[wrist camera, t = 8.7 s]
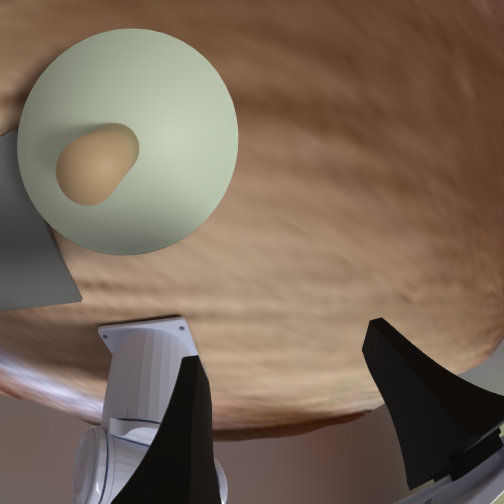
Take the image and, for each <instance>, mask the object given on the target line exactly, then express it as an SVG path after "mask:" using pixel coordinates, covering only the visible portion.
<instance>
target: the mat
mask: <svg viewBox="0 0 504 504" xmlns="http://www.w3.org/2000/svg"><path fill="white" fill-rule="evenodd" d="M18 129H19V127H18V128H16V129H14V130H12V131H10V132H8V133H6V134H4V135H2V136H1V137H0V311H7V310H16V309H25V308H34V307H42V306H50V305H59V304H66V303H74V302H81V301H82V299H83V298H82V296H81V294H80V292H79V291H78V289H77V287H76V285H75V283H74V281H73V279H72V277H71V275H70V273H69V270H68V268H67V266H66V264H65V262H64V260H63V258H62V255H61V253H60V251H59V249H58V246H57V244H56V242H55V239H54V237H53V234H52V232H51V229H50V227H49V224H48V223H47V222H46V221H45V220H44V218H43V217H42V216H41V214H40V213H39V212H38V211H37V209H36V208H35V206H34V204H33V203H32V201H31V199H30V198H29V195H28V193H27V191H26V189H25V186H24V184H23V180H22V177H21V174H20V169H19V163H18V154H17V139H18Z"/></svg>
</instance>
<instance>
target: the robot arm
mask: <svg viewBox="0 0 504 504" xmlns="http://www.w3.org/2000/svg"><path fill="white" fill-rule="evenodd" d="M180 326H183V327H180ZM98 333H99V335H100V337H101V338H102V340H103V341H104V343H105V345H106V346H107V348H108V349H109V351H110V352H111V354H112V360H111V365H110V371H109V376H108V381H107V387H106V393H105V399H104V406H103V413H102V420H101V426H100V427H99V426H92V427H91V428H90V429H87V430H86V431H84V432H83V434H82V436H81V439H80V441H79V444H78V448H77V452H76V457H75V464H74V472H73V493H72V503H73V504H226V500H227V492H228V491H227V481H226V477H225V474H224V472H223V469H222V467H221V465H220V464H219V462H218V461H217V460H216V459H215V458H214V455H213V434H212V402H211V393H210V386H209V380H208V377H207V374H206V372H205V369H204V367H203V364H202V362H201V359H200V357H199V354H198V351H197V349H196V346H195V343H194V341H193V338H192V335H191V333H190V330H189V327H188V324H187V321H186V319H185V318H183V317H174V318H167V319H159V320H151V321H143V322H134V323H126V324H116V325H107V326H100V327H99V328H98ZM362 352H363V355H364V358H365V361H366V364H367V366H368V369H369V371H370V373H371V375H372V377H373V379H374V381H375V383H376V385H377V387H378V389H379V391H380V393H381V395H382V397H383V399H384V401H385V403H386V405H387V408H388V410H389V412H390V415H391V417H392V420H393V423H394V426H395V429H396V433H397V436H398V439H399V443H400V447H401V451H402V455H403V460H404V465H405V471H406V477H407V484H408V487H409V489H410V490H412V489H414V488H416V487H418V486H420V485H422V484H424V483H426V482H427V481H430V480H431V479H433V480H434V482H435V483H433V484H432V485H430V486H428V487H426V488H424V489H422V490H421V491H418V492H416V493H414V494H412V495H410V496H408V497H407V498H404V499H402V500H400V501H398V502H395V503H393V504H421V503H423V502H425V501H426V502H425V504H492V503H493V502H494V501H495V500H496V499H497V498H498V497H499V496H500V495H501V494H502V493H503V492H504V436H502V437H501V438H500V437H499V434H500V433H501V430H500V428H499V427H500V426H501V425H502V424H503V423H504V396H502V395H499V394H496V393H493V392H490V391H487V390H485V389H482V388H480V387H478V386H475V385H473V384H471V383H469V382H467V381H465V380H463V379H462V378H460V377H458V376H456V375H455V374H453V373H451V372H450V371H448V370H447V369H445V368H443V367H442V366H440V365H439V364H438V363H436V362H435V361H434V360H432V359H431V358H429V357H428V356H427V355H426V354H424V353H423V352H422V351H421V350H419V349H418V348H417V347H416V346H415V345H413V344H412V343H411V342H410V341H409V340H407V339H406V338H405V337H404V336H403V335H402V334H400V333H399V332H398V331H397V330H396V329H395V328H394V327H393V326H391V325H390V324H389V323H388V322H387V321H386V320H384V319H383V318H382V317H381V318H377V319H374V320H370V321H369V325H368V329H367V333H366V337H365V340H364V344H363V347H362Z"/></svg>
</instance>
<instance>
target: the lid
mask: <svg viewBox="0 0 504 504" xmlns="http://www.w3.org/2000/svg"><path fill="white" fill-rule="evenodd" d="M237 151H238V127H237V118H236V114H235V110H234V106H233V102H232V100H231V97H230V95H229V92H228V90H227V88H226V86H225V84H224V82H223V81H222V79H221V77H220V76H219V74H218V72H217V71H216V70H215V69H214V68H213V66H212V65H211V64H210V63H209V62H208V60H207V59H205V58H204V57H203V56H202V55H201V54H200V53H199V52H197V51H196V50H195V49H194V48H192V47H191V46H189V45H187V44H186V43H184V42H183V41H181V40H179V39H176V38H174V37H172V36H169V35H167V34H164V33H160V32H156V31H152V30H145V29H118V30H113V31H108V32H103V33H100V34H97V35H94V36H92V37H89V38H87V39H85V40H83V41H81V42H79V43H77V44H75V45H73V46H72V47H70V48H69V49H68V50H66V51H65V52H63V53H62V54H61V55H60V56H59V57H57V58H56V59H55V60H54V61H53V62H52V63H51V64H50V65H49V66H48V67H47V69H46V70H45V71H44V72H43V73H42V75H41V76H40V77H39V79H38V80H37V82H36V83H35V85H34V87H33V88H32V90H31V92H30V94H29V96H28V98H27V101H26V103H25V105H24V109H23V112H22V115H21V118H20V123H19V129H18V139H17V154H18V163H19V169H20V174H21V177H22V180H23V184H24V186H25V189H26V191H27V193H28V195H29V198H30V199H31V201H32V203H33V204H34V206H35V208H36V209H37V211H38V212H39V213H40V214H41V216H42V217H43V218H44V220H45V221H46V222H47V223H48V224H49V225H50V226H51V227H52V228H53V229H55V230H56V231H57V232H58V233H60V234H61V235H62V236H64V237H65V238H67V239H69V240H70V241H72V242H73V243H75V244H78V245H80V246H82V247H84V248H86V249H90V250H93V251H96V252H100V253H105V254H110V255H138V254H144V253H150V252H153V251H156V250H160V249H163V248H165V247H167V246H170V245H172V244H174V243H176V242H178V241H179V240H181V239H183V238H185V237H186V236H188V235H189V234H190V233H192V232H193V231H194V230H195V229H197V228H198V227H199V226H200V225H201V224H202V223H203V222H204V221H205V220H206V219H207V218H208V217H209V216H210V214H211V213H212V212H213V211H214V209H215V208H216V207H217V205H218V204H219V202H220V200H221V199H222V197H223V195H224V194H225V192H226V189H227V187H228V185H229V183H230V180H231V178H232V174H233V171H234V167H235V164H236V157H237Z"/></svg>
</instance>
